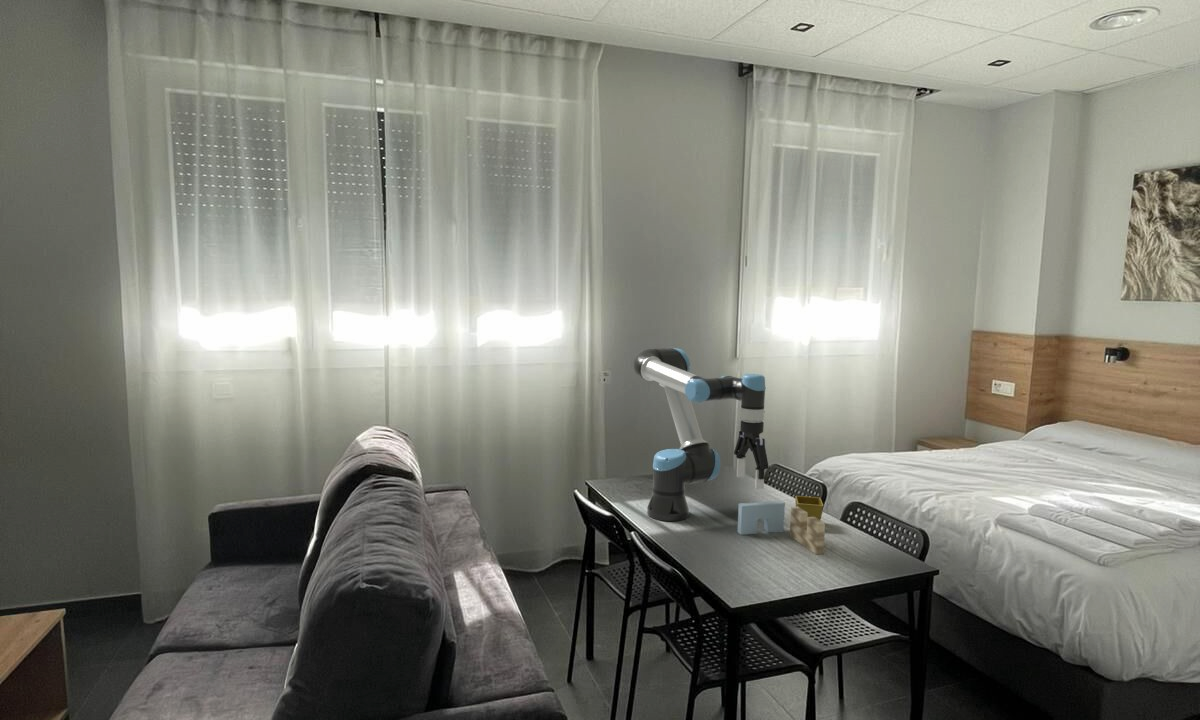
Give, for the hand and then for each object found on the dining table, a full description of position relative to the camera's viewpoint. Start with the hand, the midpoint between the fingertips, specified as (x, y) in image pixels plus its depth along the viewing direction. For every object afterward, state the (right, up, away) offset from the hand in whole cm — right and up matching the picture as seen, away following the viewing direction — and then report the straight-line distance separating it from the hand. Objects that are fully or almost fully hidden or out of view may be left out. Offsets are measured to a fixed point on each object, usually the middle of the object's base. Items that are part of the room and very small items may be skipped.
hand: (749, 482), depth 220 cm
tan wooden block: (+17, -19, -8) cm, 26 cm away
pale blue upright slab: (+4, -17, +3) cm, 18 cm away
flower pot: (+23, -17, +11) cm, 31 cm away
